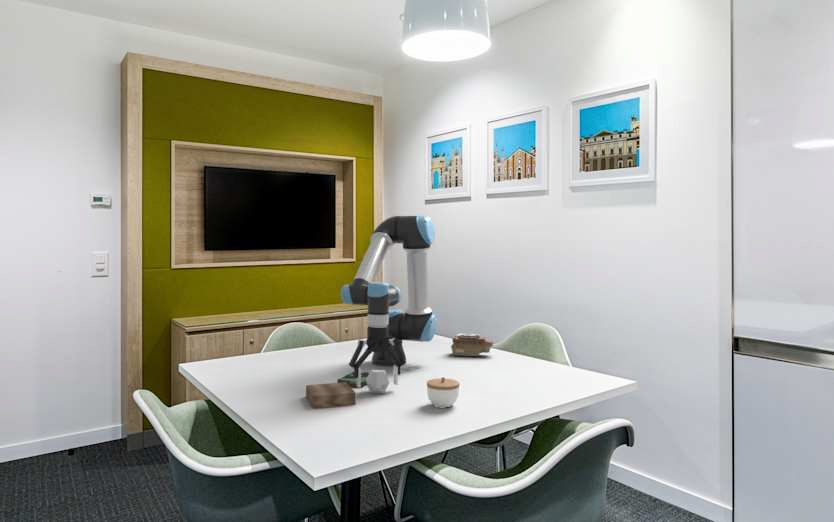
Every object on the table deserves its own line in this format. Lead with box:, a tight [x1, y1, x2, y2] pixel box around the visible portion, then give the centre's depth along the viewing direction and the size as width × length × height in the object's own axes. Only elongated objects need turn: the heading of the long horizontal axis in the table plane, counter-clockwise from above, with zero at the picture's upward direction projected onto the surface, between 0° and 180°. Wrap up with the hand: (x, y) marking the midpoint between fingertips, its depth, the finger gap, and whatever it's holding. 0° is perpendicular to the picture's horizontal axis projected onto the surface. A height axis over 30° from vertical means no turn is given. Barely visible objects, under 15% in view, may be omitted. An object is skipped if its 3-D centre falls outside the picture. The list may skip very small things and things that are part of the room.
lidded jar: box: [426, 376, 460, 408], centre depth 185 cm, size 11×11×9 cm
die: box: [366, 369, 390, 395], centre depth 200 cm, size 8×9×10 cm
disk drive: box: [336, 371, 370, 389], centre depth 214 cm, size 10×3×15 cm
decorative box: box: [450, 332, 494, 357], centre depth 266 cm, size 13×20×10 cm, turn 73°
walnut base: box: [305, 382, 357, 409], centre depth 189 cm, size 14×14×4 cm
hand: (377, 385), depth 200 cm, fingers open, 13 cm apart
